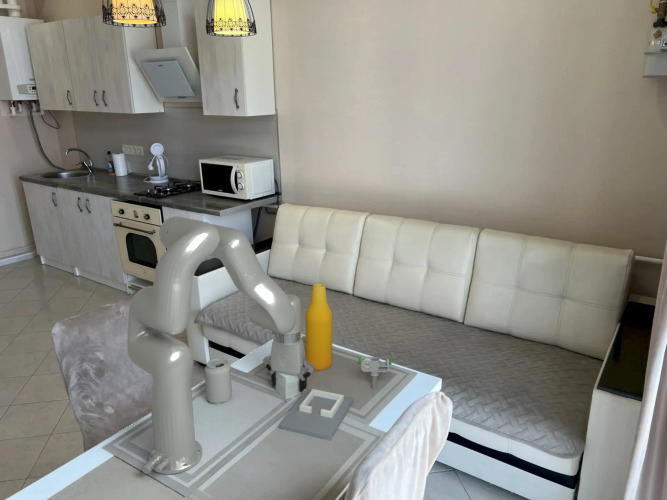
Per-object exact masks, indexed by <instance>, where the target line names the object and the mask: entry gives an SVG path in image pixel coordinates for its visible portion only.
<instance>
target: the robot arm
mask: <svg viewBox="0 0 667 500" xmlns="http://www.w3.org/2000/svg"><path fill="white" fill-rule="evenodd" d="M158 238H159V241H160V242H161V244H162V245H163V246H164V247H165V248H166V249H167V250H165V252H164V253H163V254H162V255H161V257H160V258H159V260H158V262H157V263H156V266H155V269H154V274H153V275H154V277H153V284H152V285H148V286H144V287H143V288H140V289H139V290H138V291H137V292H136V293H135V294H134V296H133V297H132V299H131V302H130V304H129V309H128V323H127V340H126V342H127V343H126V344H127V345H126V346H127V354H128V358H129V359H130V361H131V363H133V364H134V365H135V366H137V367H138V368H139V369H142V370H144V371H145V372H146V373H148V374H150V376H151V377H152V379H153V380H152V385H151V387H150V392H149V393H150V394H149V403H150V410H151V412H150V413H151V420H152V422H151V423H152V432H153V443H154V449H153V450H152V451H151V452H150V454H149V457H148V462H146V463H145V464H144V465H143V466H142V467H141V470H142V472H143V473H144V474H146V475H147V474H149V473H150V472H151V471H152V470H153V471H154V472H156V473H159V474H162V475H174V474H175V475H176V474H180V473H183V472H186V471H187V470H190V469H192V468H193V467H194V466H196V465H197V464H198V463H199V462H200V460H201V459H202V457H203V447H202V445H201V443H199V442H198V440H196V435H195V434H196V433H195V419H194V404H193V393H192V392H193V390H192V379H193V378H192V376H193V370H194V368H193V367H194V363H195V361H194V354H193V351H192V349H191V348H190V347H189V346H188V345H187V344H186V343H185V342H183V341H181V340H180V339H178V338H175V337H173V336H176V335H180V334H181V333H184V332H185V330H186V329H187V328H188V325H189V323H190V317H191V308H192V307H191V305H192V292H193V289H192V288H193V282H194V276H195V273H196V271H197V269H198V267H199V266H200V265H201V264H202V263H203V262H204V261H205V260H206V259H207V258H208V257H212V258H215V259H218V260H220V261H221V263H222V265H223V266H224V268H225V270H226V272H227V273H228V275H229V278H230V280H231V281H232V282H233V284H234V286H235V287H236V289H237V290H239V291H240V292H241V293H243V295H245V296H246V297H248V298H249V299H250V300H253V301H254V302H255V303H253V304H252V305H251V306H250V307H249V311H248V317H249V320H250V321H251V323H253V324H254V325H255V326H258V327H261V328H264V329H266V330H269V331H271V334H272V335H274V338H273V339H272V343H271V351H270V355H268V356H265V357H263V359H262V362H263V363H264V366H265V368H266V369H267V370H268V371H269V374H270V379H271V381H270V382H271V384H272V385H271V386H272V387H276V371H278V372H282V373H288V374H293V375H299V377H300V378H301V379H300V381H299V391H300V392H302V393H303V392H304V391H305V389H307V385H308V383H307V381H308V378H309V377H310V376H311V375H313V374H312V373H313V372H314V371H315V370H314V369H315V366H313V365H312V364H311V363H309V362H308V361H307V360H306V359H305V357H306V348H305V345H304V340H303V339H302V336H301V334H302V332H301V331H302V328H301V326H302V325H301V320H302V319H301V318H302V317H301V299H300V297H299V296H297V295H295V294H291V293H289V294H286V293H285V291H284V290H283V289H282V288H281V287H280V285H278V284H277V283H276V282H275V281H274V279H273V278H272V277H271V276H270V275H268V274H267V273H266V272H265V270H264V268H263V267H262V265H261V263H260V261H259V259H258V256H257V255H256V253H255V251H254V248H253V247H252V245H251V242H250V241H249V239H248V237H247V236H246V234H245V233H244V232H243V231H241V230H239V229H237V228H233V227H229V226H228V227H227V226H224V225H218V224H214V223H209V222H206V221H202V220H197V219H193V218H192V219H191V218H187V217H182V216H172V217H169V218H167V219H166V220H164V221H163V222H162V224H161V225H160V227H159V230H158ZM306 369H308V371H307V370H306Z"/></svg>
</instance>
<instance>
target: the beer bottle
mask: <svg viewBox="0 0 667 500" xmlns="http://www.w3.org/2000/svg"><path fill="white" fill-rule="evenodd" d="M310 297H311V298H310V303H309V305H308V307H307V309H306V312H305V317H304V319H305V359H306V360H307V361H308V362H309V363H311V364H312V365H313V366H315V369H314V371H323V370H327V369H329V368H331V366H332V364H333V312H332V310H331V307H330V305H329V304H328V298H327V290H326V284H325V283H322V282H317V283H313V284H312V289H311V296H310Z"/></svg>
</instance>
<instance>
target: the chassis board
mask: <svg viewBox="0 0 667 500" xmlns="http://www.w3.org/2000/svg"><path fill="white" fill-rule="evenodd" d="M354 402H355V398H354V397H350V396H346V395H344V394H339V393H333V392H330V391H325V390H320V389H316V388H312V389H311V388H306V390H305V392H304V393H303V394H302V395H301V397H300V398H299V399H298V400H297V402H296V403H295V404H294V405H293V406H292V408H290V410H289V411H288V413H287V414H286V415H285V417H284V418H283V419H282V420H281V422H280V423H279V424H278V429H280V430H285V431H289V432H293V433H298V434H301V435H305V436H310V437H315V438H318V439H322V440H327V441H330V442H331V441H332V439H333V438H334V436H335V434H336V433H337V431H338V429H339V427H340V426H341V424H342V422H343V420H344V419H345V418H346V416H347V414H348V412H349V410H350V408H351V407H352V406H353V403H354Z"/></svg>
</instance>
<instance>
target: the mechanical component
mask: <svg viewBox="0 0 667 500" xmlns="http://www.w3.org/2000/svg"><path fill="white" fill-rule="evenodd" d="M357 361H358V365H360V367H361V370H362V372H363V373H364V372H365V373H366V372H367V373H370V376H371V388H372V389H373V390H376V389H377V383H378V382H377V381H378V380H377V379H378V376H379V375H380V374H379V373H387V372H389V370H390V365H391V366H392V359H389V358H386V360H385V361H381V360H380V357H378V356H360V358H358V360H357Z"/></svg>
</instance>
